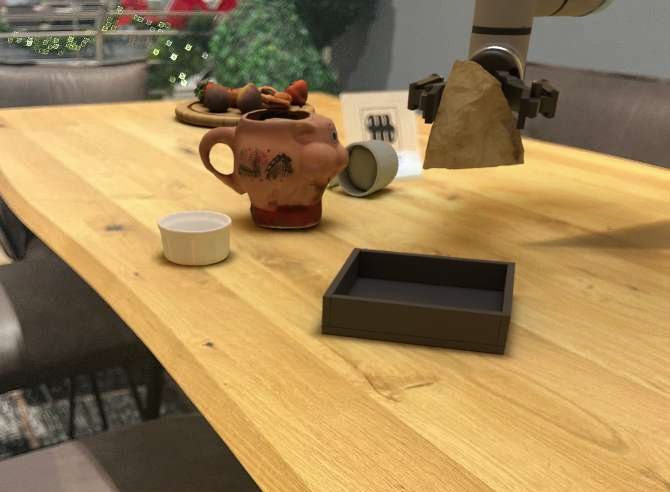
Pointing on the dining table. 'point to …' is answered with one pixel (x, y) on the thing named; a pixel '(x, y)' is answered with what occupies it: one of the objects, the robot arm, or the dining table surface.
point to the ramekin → (195, 237)
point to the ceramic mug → (367, 168)
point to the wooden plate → (239, 102)
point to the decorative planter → (280, 164)
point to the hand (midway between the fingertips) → (475, 111)
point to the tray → (421, 300)
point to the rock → (473, 123)
